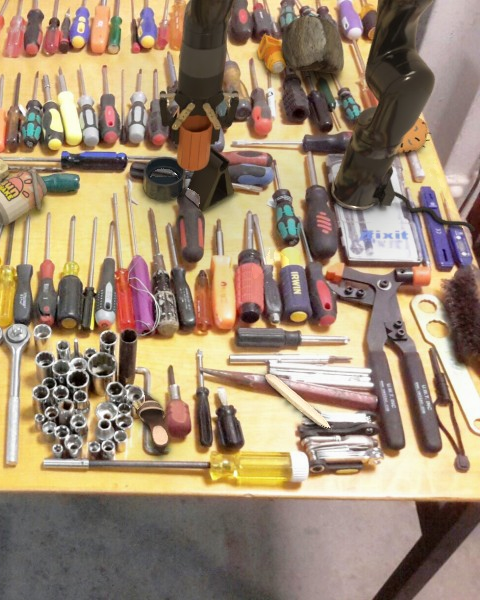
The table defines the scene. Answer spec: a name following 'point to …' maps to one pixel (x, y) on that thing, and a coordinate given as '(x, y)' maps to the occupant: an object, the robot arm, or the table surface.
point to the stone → (313, 45)
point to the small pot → (194, 142)
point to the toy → (415, 137)
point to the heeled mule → (154, 422)
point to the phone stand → (212, 181)
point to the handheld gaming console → (3, 170)
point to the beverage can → (20, 195)
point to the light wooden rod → (296, 400)
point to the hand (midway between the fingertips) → (194, 141)
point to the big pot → (163, 179)
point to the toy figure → (272, 54)
